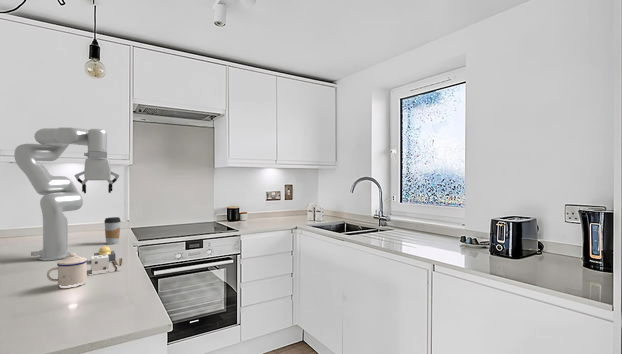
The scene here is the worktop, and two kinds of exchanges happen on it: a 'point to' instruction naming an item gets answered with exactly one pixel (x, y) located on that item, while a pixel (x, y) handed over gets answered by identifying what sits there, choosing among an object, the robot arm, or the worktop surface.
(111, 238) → the coffee cup
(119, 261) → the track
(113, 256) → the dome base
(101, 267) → the die
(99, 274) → the worktop surface
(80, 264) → the teacup with lid
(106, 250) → the dome button
